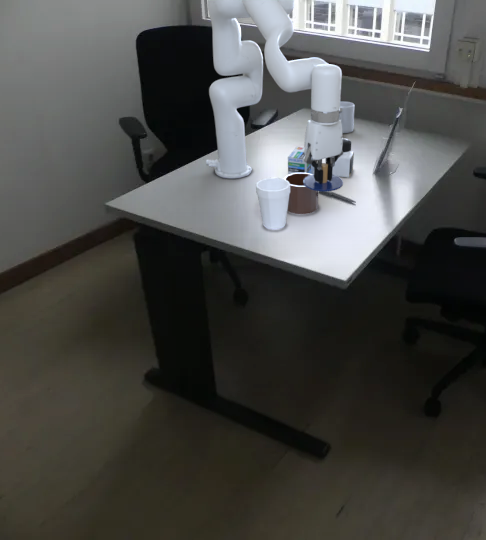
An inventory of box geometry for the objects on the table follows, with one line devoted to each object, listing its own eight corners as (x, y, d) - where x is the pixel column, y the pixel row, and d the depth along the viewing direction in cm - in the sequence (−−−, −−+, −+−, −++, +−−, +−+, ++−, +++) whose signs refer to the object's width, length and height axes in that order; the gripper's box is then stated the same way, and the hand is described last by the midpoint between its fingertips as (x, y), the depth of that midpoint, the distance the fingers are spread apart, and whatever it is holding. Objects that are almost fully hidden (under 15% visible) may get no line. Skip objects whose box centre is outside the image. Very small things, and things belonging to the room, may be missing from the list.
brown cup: (283, 215, 159) (283, 186, 154) (284, 200, 168) (284, 172, 163) (318, 215, 160) (318, 186, 155) (317, 200, 168) (318, 172, 163)
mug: (356, 128, 229) (357, 103, 223) (348, 134, 223) (349, 108, 217) (331, 124, 234) (332, 99, 228) (322, 129, 227) (323, 103, 221)
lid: (303, 193, 145) (303, 172, 141) (303, 176, 154) (303, 156, 150) (343, 194, 145) (345, 173, 142) (341, 177, 154) (342, 157, 151)
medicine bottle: (349, 177, 184) (351, 144, 178) (329, 175, 186) (330, 142, 179) (352, 170, 190) (354, 137, 184) (333, 168, 191) (334, 135, 185)
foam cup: (291, 218, 158) (290, 177, 151) (290, 233, 150) (289, 191, 143) (259, 218, 157) (257, 177, 150) (256, 233, 150) (254, 191, 143)
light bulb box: (307, 190, 175) (307, 159, 169) (287, 188, 176) (286, 157, 170) (315, 178, 184) (315, 148, 178) (296, 175, 185) (296, 145, 179)
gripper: (340, 106, 145) (337, 169, 155) (291, 116, 137) (291, 182, 147) (358, 114, 140) (353, 178, 150) (308, 124, 132) (307, 191, 142)
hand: (323, 179), depth 149 cm, fingers closed on lid, 2 cm apart
